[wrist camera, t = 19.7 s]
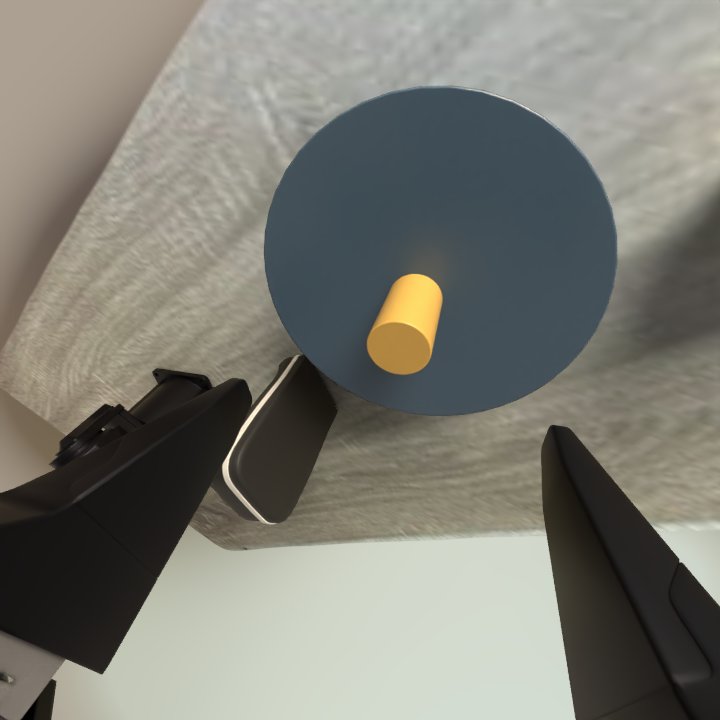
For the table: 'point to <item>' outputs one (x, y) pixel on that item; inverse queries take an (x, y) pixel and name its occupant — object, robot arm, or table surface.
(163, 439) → the robot arm
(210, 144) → the table surface
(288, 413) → the battery charger
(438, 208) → the tin lid
